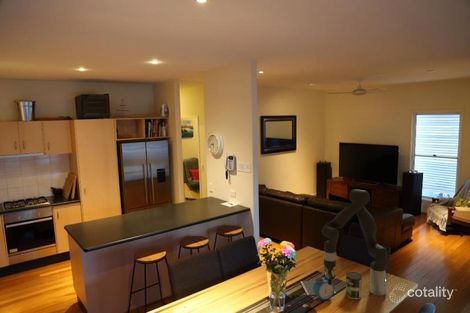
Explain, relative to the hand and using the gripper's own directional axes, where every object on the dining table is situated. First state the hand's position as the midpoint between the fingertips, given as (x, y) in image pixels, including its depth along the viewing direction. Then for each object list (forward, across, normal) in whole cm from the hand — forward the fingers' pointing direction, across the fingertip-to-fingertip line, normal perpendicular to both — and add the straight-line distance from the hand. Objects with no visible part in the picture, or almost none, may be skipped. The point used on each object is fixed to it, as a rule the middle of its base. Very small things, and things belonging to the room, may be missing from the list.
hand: (329, 284), depth 202 cm
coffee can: (+16, +12, -21) cm, 29 cm away
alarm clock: (+16, +11, 0) cm, 19 cm away
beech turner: (+16, +41, -14) cm, 46 cm away
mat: (+16, +24, 0) cm, 29 cm away
